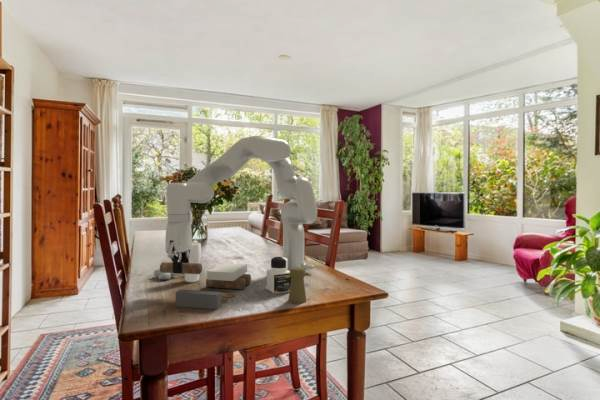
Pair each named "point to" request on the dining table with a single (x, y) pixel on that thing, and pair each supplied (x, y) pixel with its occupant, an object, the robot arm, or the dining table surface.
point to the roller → (186, 268)
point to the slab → (227, 272)
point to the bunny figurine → (164, 275)
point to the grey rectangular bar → (199, 299)
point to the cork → (297, 286)
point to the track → (230, 284)
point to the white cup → (194, 261)
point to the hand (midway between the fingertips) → (181, 271)
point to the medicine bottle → (278, 276)
